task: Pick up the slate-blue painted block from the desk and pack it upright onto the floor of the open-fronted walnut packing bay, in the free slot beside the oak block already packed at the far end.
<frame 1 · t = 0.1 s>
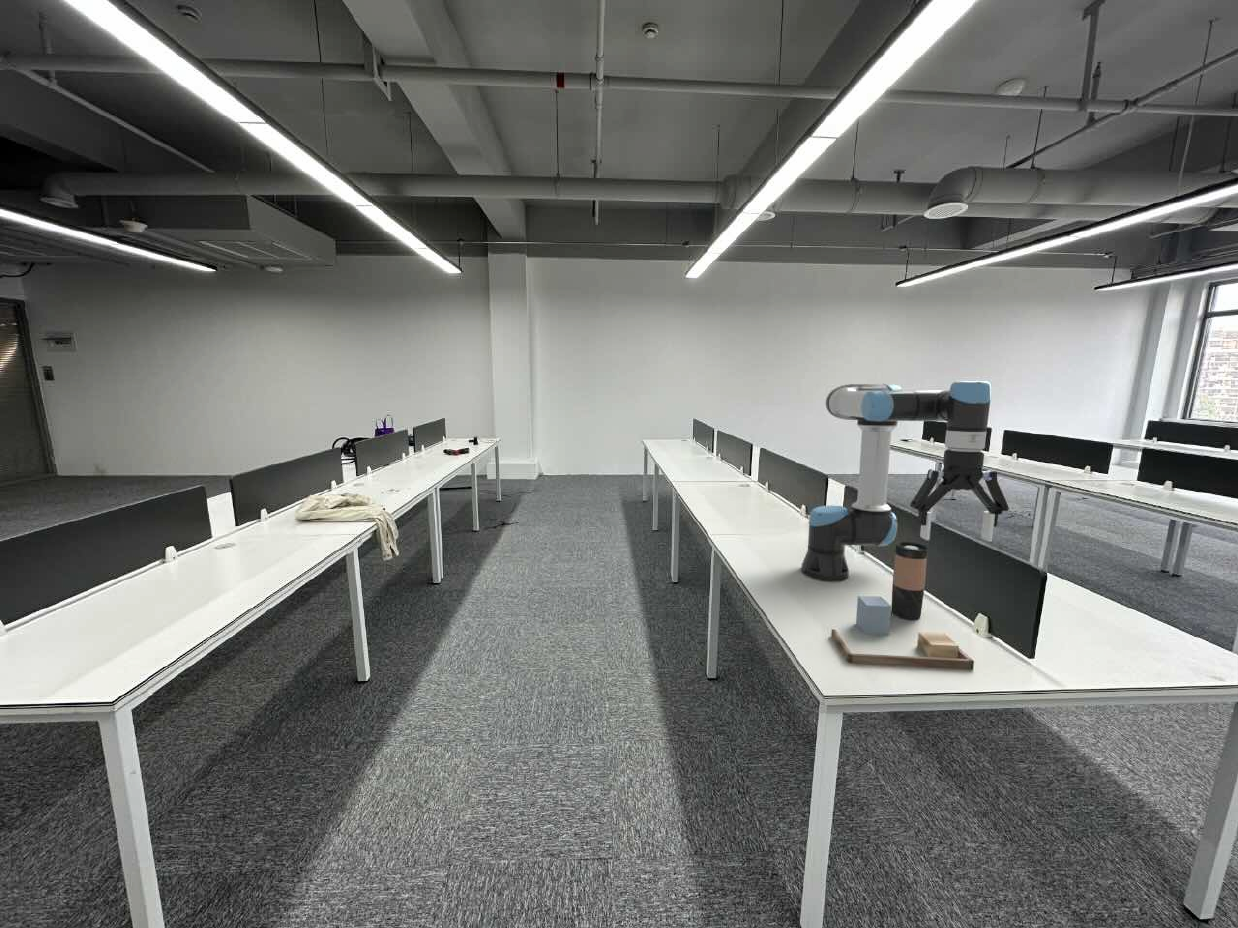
hand: (955, 539, 113), 28 cm above the table, fingers open, 13 cm apart
bay: (897, 651, 117), on the table
oak block: (936, 654, 116), on the table
travel mug: (905, 614, 136), on the table
slate block: (872, 629, 128), on the table
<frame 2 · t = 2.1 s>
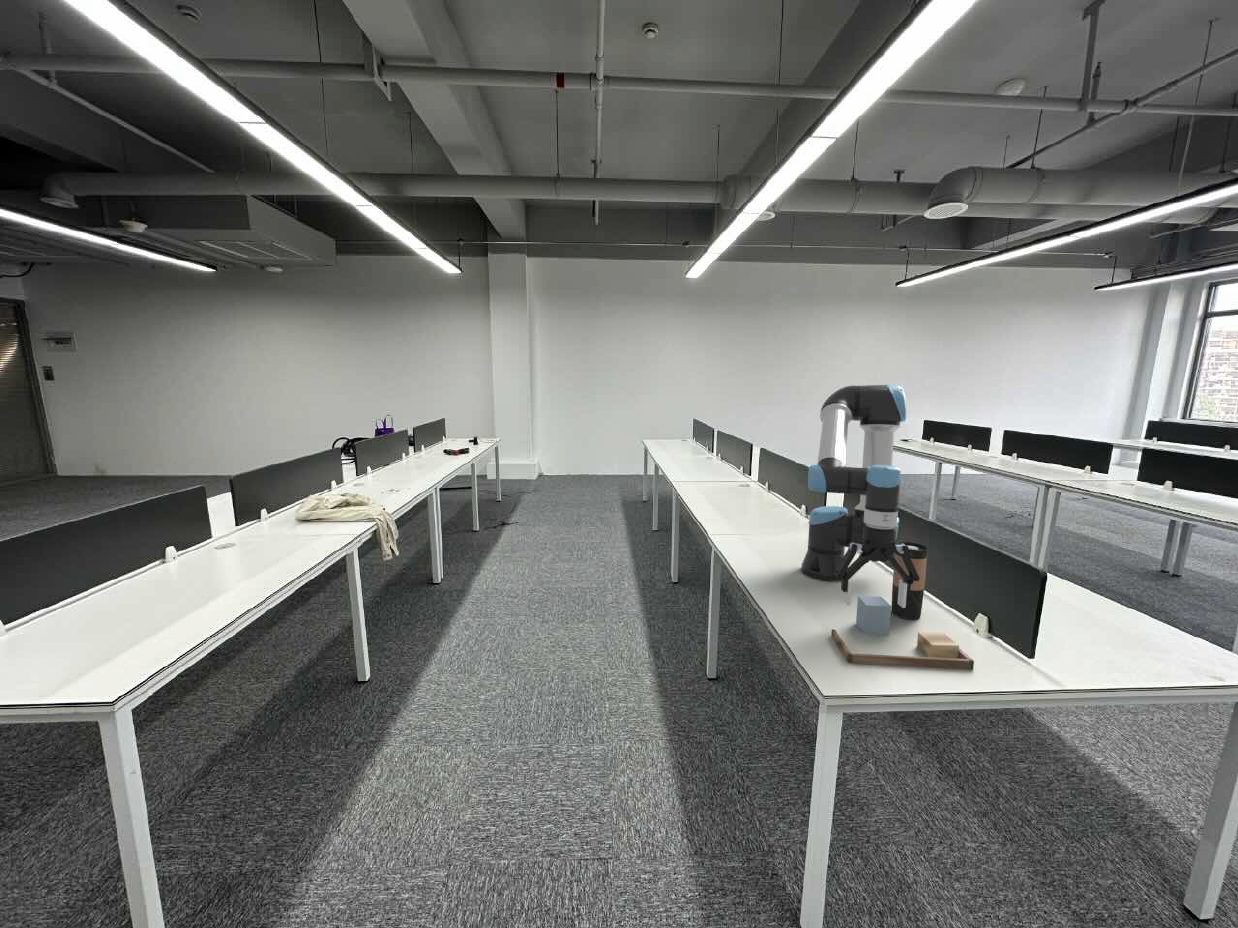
hand: (874, 604, 126), 7 cm above the table, fingers open, 13 cm apart
nothing on the table moved.
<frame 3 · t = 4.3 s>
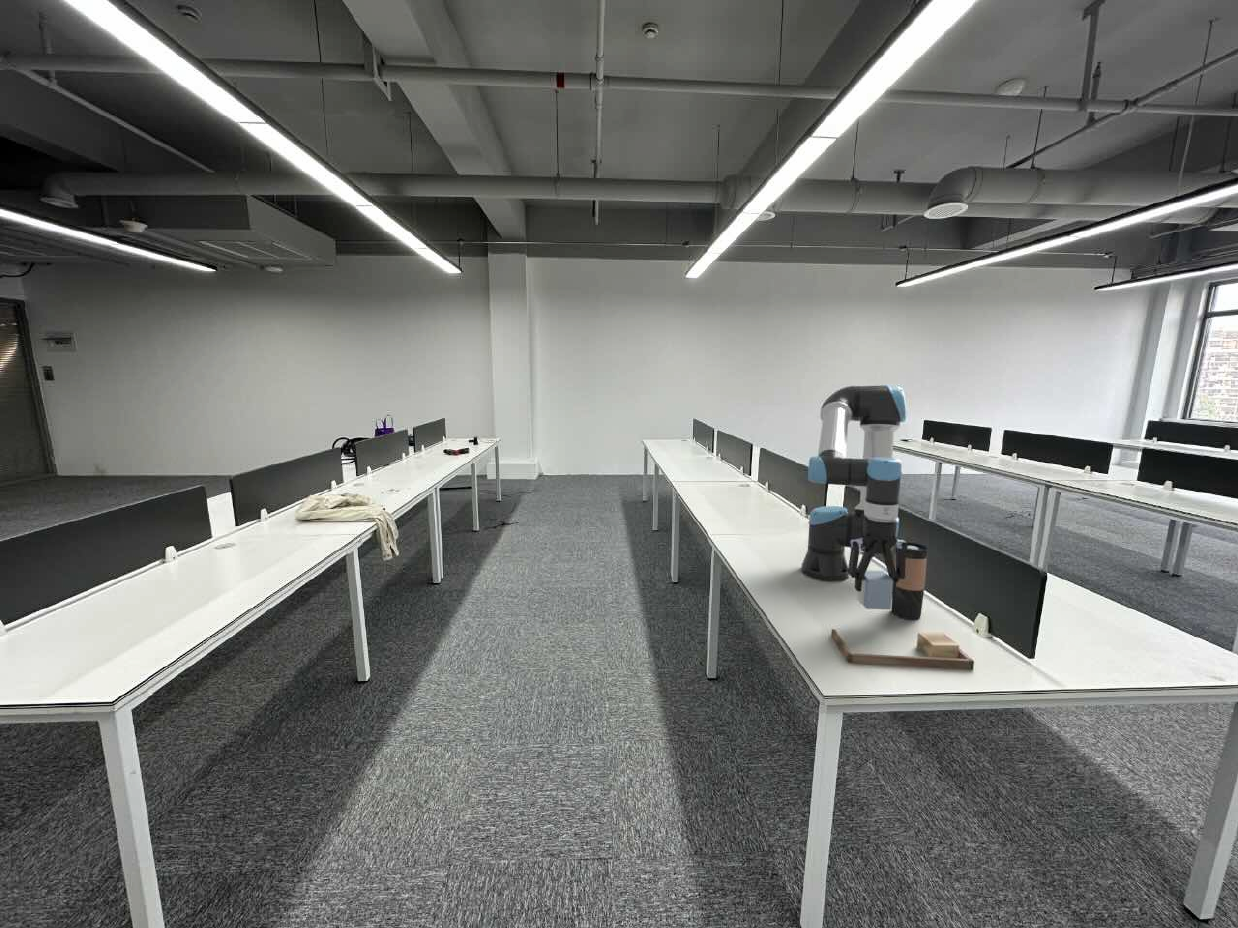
hand: (873, 602, 127), 7 cm above the table, fingers closed on slate block, 6 cm apart
slate block: (873, 603, 127), point 7 cm above the table, touching gripper
everything else where it was.
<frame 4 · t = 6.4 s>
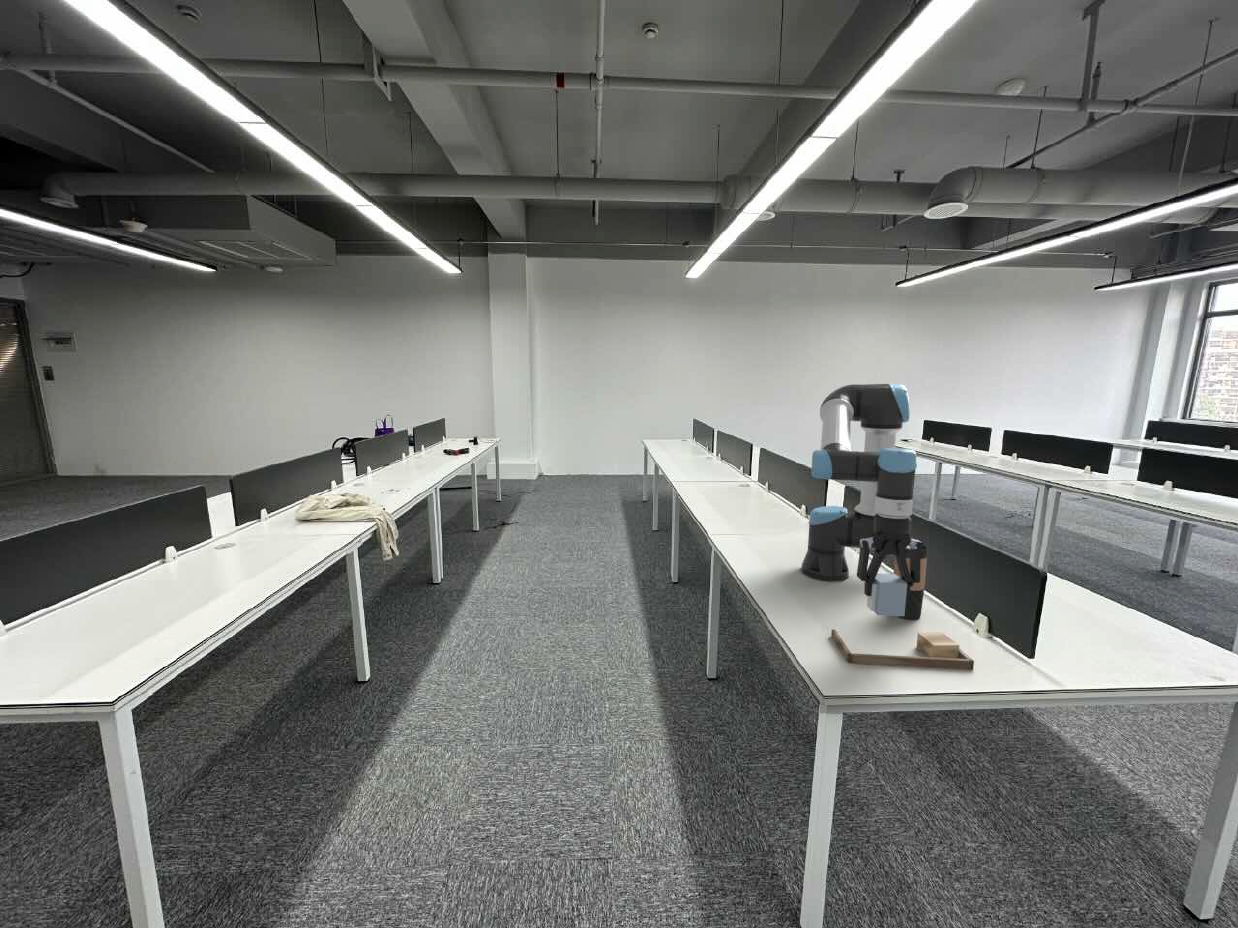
hand: (885, 608, 116), 11 cm above the table, fingers closed on slate block, 6 cm apart
slate block: (885, 610, 116), point 11 cm above the table, touching gripper
everything else where it was.
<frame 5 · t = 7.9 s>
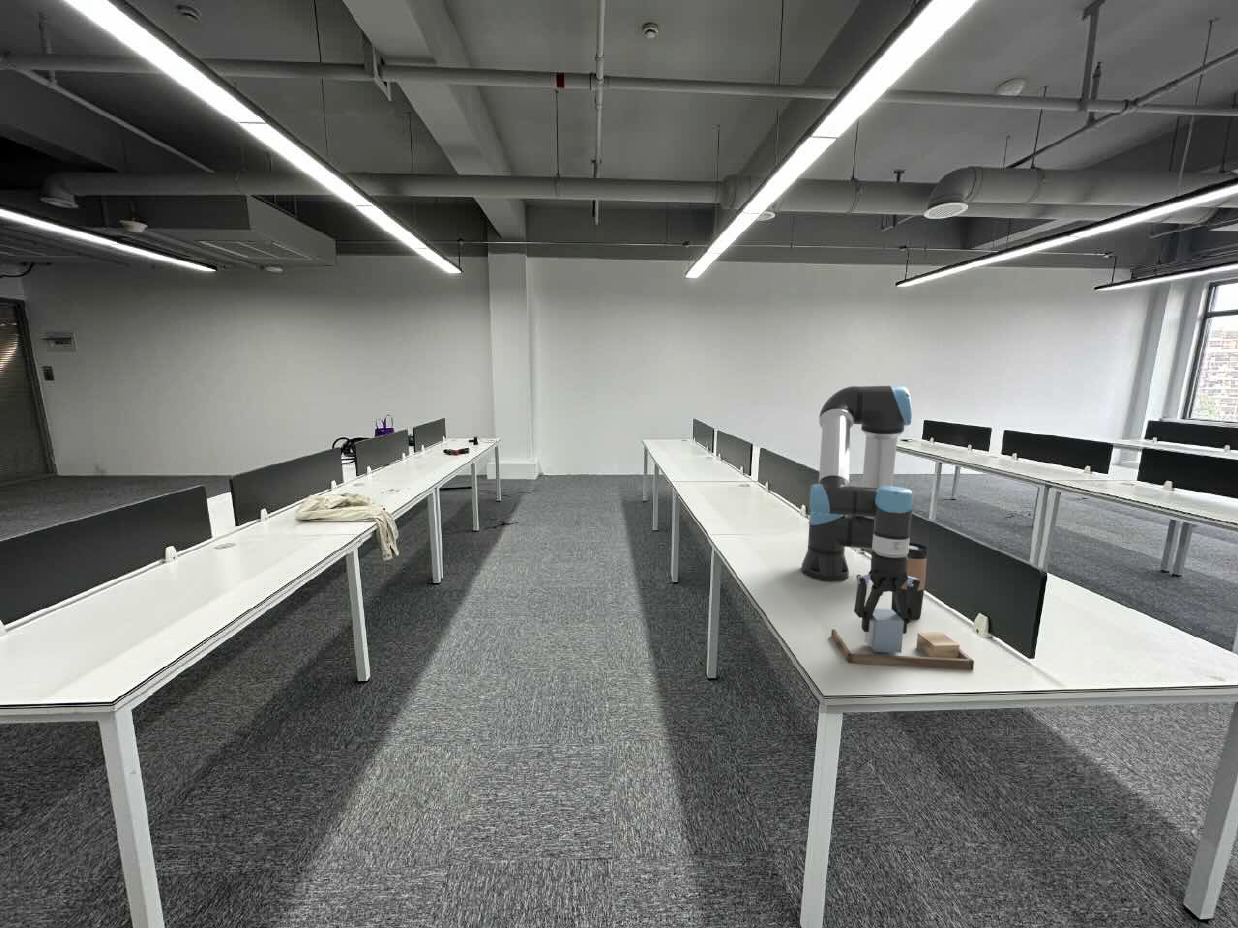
hand: (882, 644, 117), 2 cm above the table, fingers closed on slate block, 6 cm apart
slate block: (882, 645, 117), point 1 cm above the table, touching gripper
everything else where it was.
when the fingers open (1 cm above the table, at t = 8.7 s): slate block drops 1 cm, on the table.
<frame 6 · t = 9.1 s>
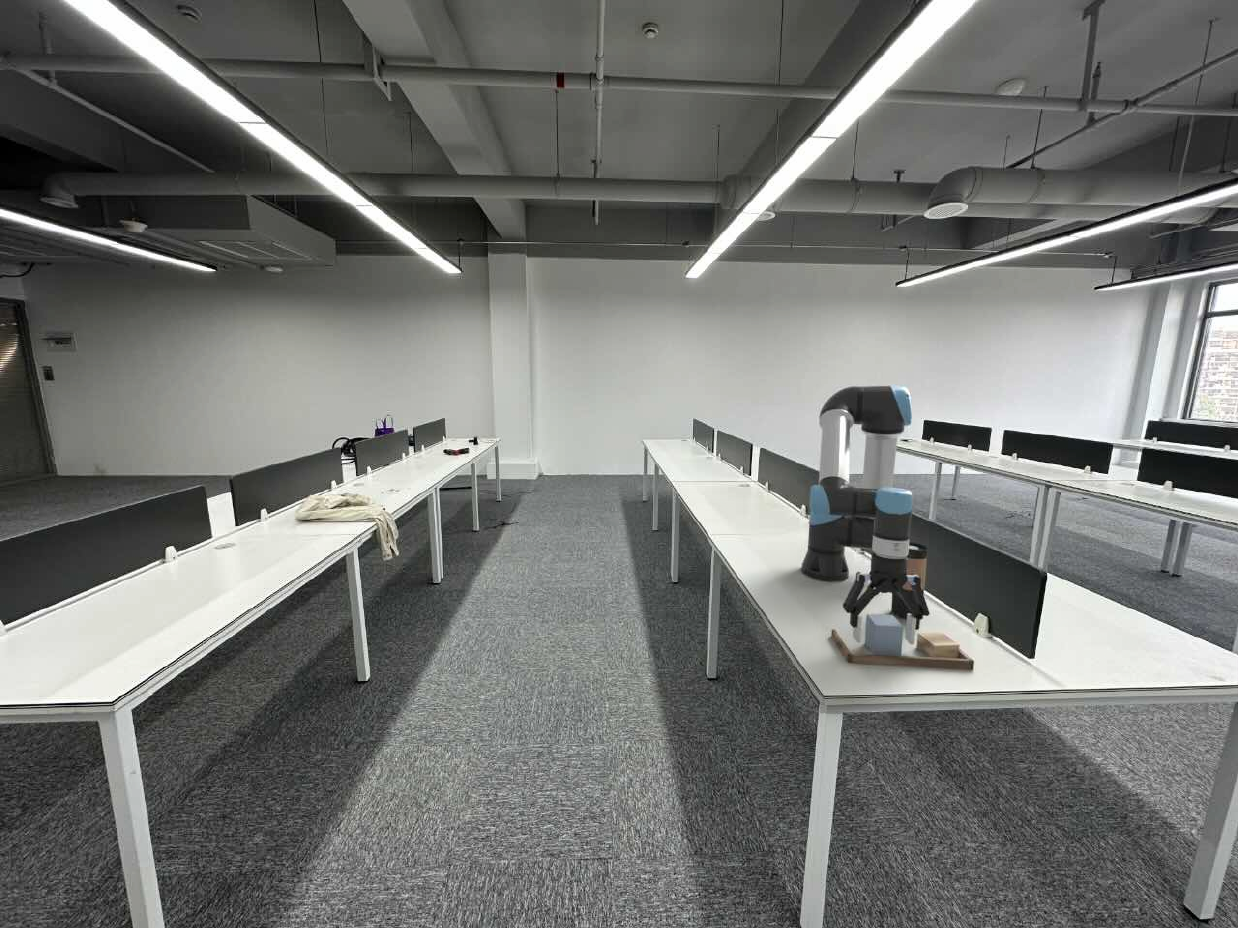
hand: (882, 640, 117), 3 cm above the table, fingers open, 11 cm apart
slate block: (882, 650, 117), on the table
everything else where it was.
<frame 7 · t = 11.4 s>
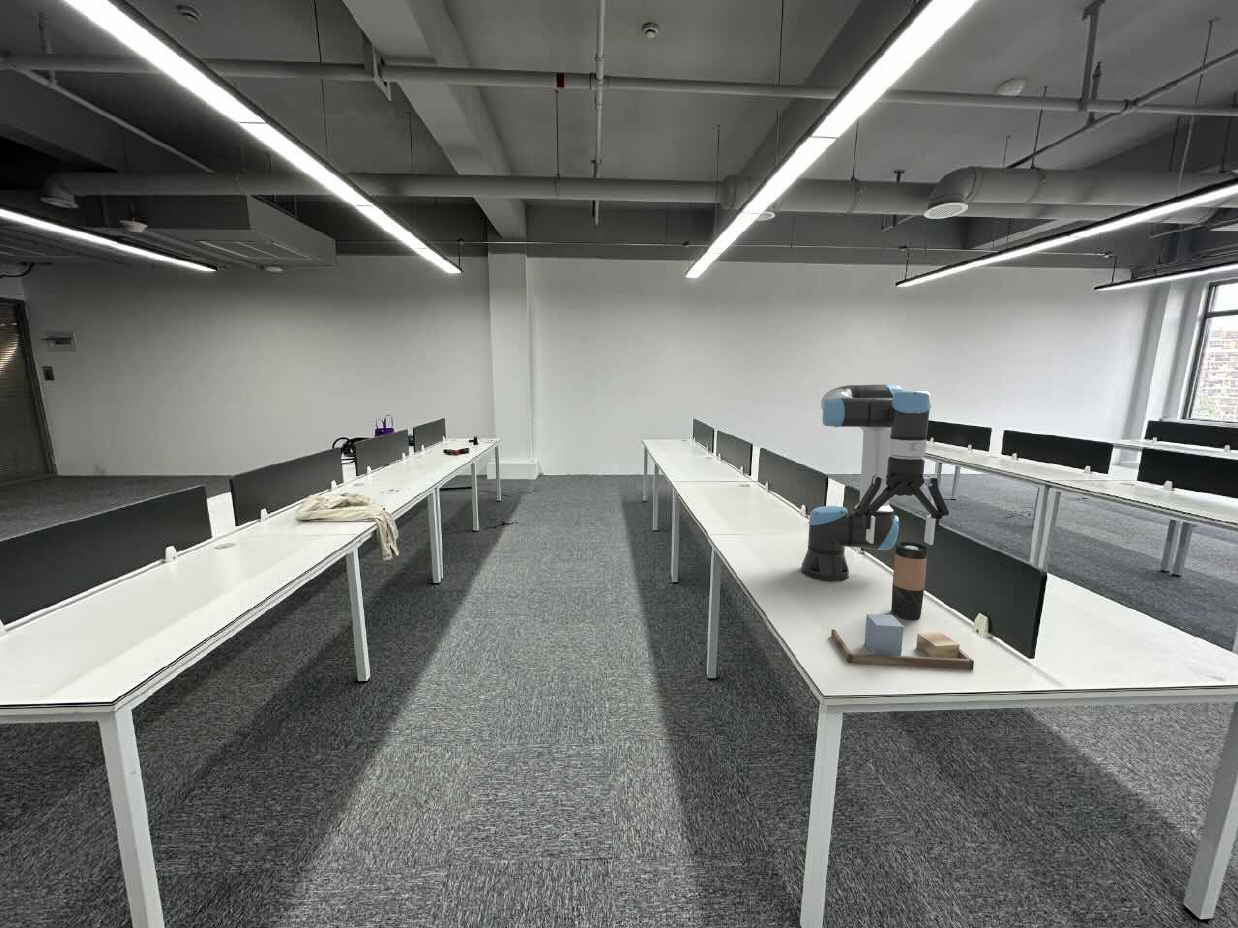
hand: (898, 542, 118), 26 cm above the table, fingers open, 13 cm apart
nothing on the table moved.
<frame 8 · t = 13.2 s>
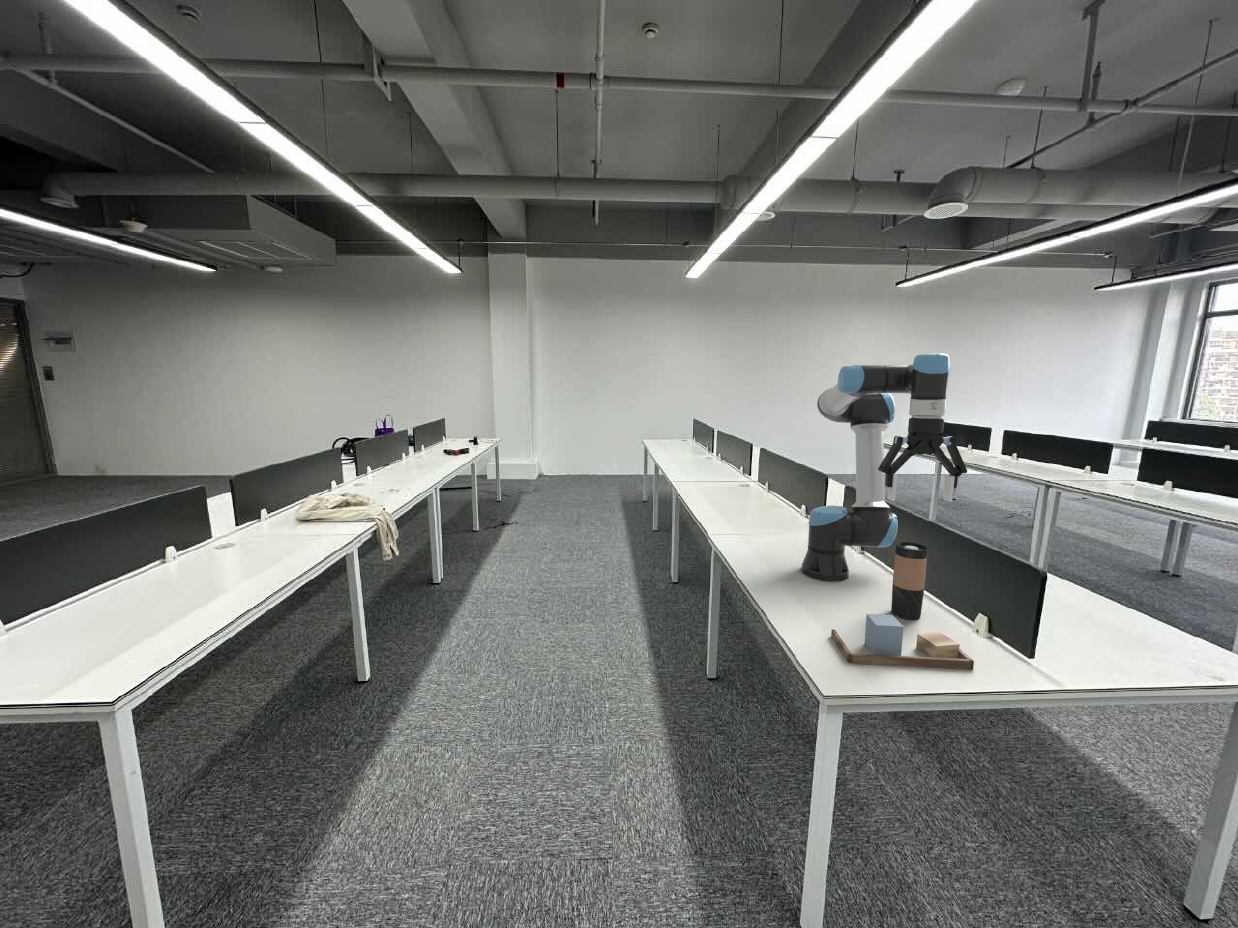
hand: (919, 500, 124), 35 cm above the table, fingers open, 13 cm apart
nothing on the table moved.
at the end: slate block inside the target area (0.2 cm from its centre), on the table; slate block tilted 0°; the gripper is holding nothing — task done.
